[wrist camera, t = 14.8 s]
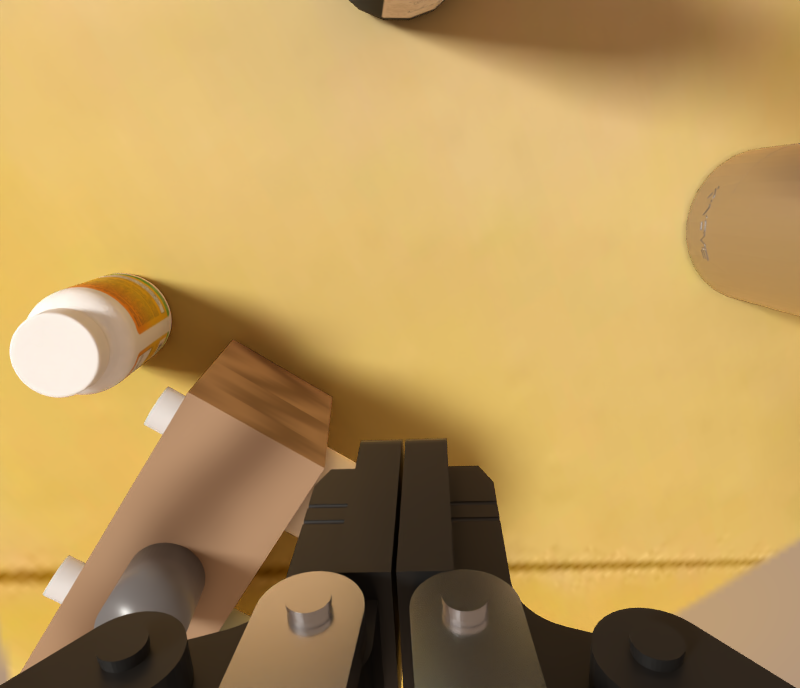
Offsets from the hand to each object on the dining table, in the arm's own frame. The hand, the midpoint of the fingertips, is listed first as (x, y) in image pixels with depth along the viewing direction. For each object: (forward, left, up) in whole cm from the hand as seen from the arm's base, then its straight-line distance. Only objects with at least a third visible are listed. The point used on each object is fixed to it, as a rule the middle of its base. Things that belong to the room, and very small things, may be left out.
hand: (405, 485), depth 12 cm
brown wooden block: (+9, +13, -29) cm, 33 cm away
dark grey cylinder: (+9, +13, -18) cm, 24 cm away
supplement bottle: (+14, +3, -29) cm, 32 cm away
